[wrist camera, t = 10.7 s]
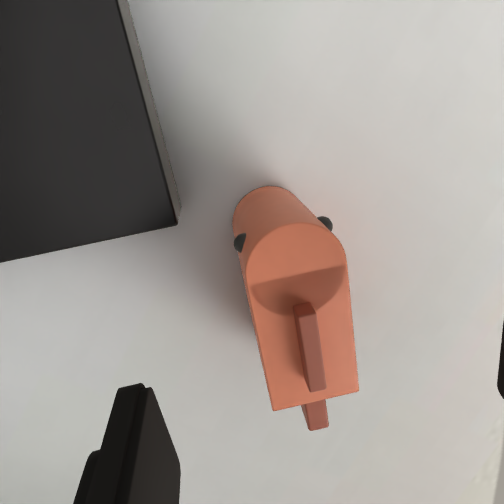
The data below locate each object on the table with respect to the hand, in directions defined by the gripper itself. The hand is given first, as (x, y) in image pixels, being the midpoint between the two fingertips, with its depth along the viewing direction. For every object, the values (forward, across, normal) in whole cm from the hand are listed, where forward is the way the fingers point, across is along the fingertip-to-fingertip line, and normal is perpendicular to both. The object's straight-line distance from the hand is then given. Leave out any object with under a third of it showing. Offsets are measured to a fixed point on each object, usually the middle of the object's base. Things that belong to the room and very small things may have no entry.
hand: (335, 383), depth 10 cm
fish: (+8, 0, +1) cm, 8 cm away
